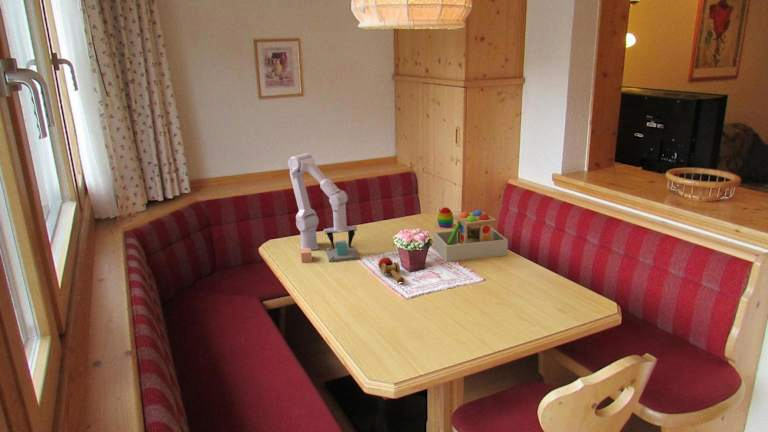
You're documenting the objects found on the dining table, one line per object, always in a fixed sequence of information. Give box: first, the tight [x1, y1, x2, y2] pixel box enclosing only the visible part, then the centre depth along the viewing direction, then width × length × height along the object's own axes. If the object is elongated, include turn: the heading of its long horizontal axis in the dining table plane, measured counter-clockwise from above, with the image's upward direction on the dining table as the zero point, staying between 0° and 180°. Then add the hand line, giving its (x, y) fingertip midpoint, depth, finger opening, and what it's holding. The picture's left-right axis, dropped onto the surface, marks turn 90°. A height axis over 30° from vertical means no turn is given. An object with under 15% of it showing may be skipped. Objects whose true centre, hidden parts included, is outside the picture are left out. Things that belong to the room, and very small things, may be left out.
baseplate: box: [325, 245, 360, 263], centre depth 246 cm, size 14×13×2 cm
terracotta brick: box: [299, 248, 313, 264], centre depth 241 cm, size 6×4×4 cm
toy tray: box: [433, 227, 509, 263], centre depth 245 cm, size 19×28×7 cm
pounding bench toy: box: [447, 209, 497, 245], centre depth 243 cm, size 23×14×18 cm, turn 108°
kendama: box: [377, 256, 405, 284], centre depth 221 cm, size 8×6×18 cm
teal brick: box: [335, 240, 348, 255], centre depth 245 cm, size 6×4×4 cm
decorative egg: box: [437, 207, 455, 229], centre depth 279 cm, size 8×8×10 cm
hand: (341, 247), depth 245 cm, fingers open, 7 cm apart
